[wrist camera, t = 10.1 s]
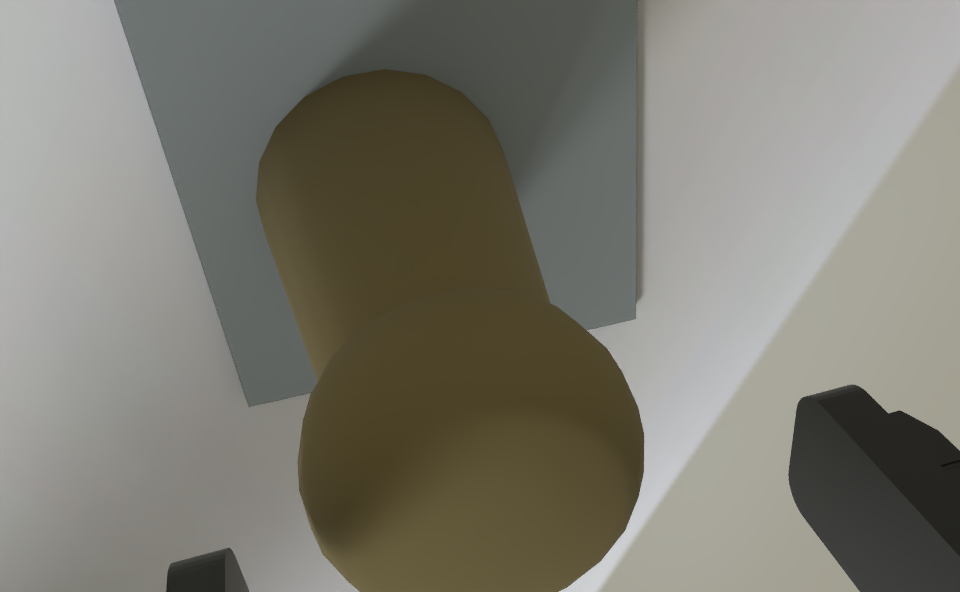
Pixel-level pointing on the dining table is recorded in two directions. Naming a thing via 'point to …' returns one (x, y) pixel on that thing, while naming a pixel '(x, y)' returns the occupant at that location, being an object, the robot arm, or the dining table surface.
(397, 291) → the cork
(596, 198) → the mat
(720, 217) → the dining table surface
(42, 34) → the dining table surface
